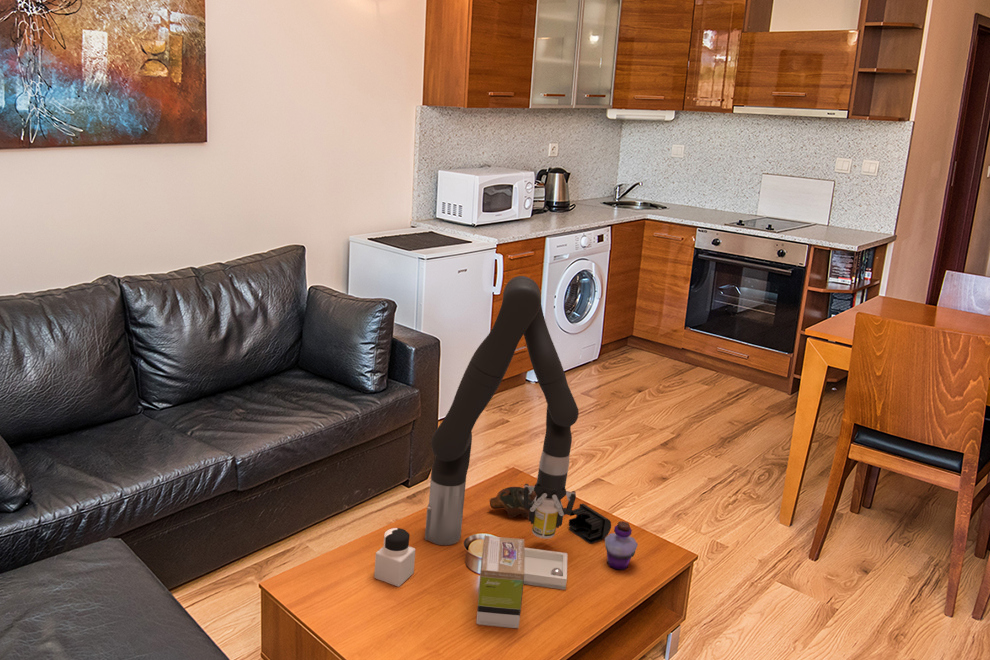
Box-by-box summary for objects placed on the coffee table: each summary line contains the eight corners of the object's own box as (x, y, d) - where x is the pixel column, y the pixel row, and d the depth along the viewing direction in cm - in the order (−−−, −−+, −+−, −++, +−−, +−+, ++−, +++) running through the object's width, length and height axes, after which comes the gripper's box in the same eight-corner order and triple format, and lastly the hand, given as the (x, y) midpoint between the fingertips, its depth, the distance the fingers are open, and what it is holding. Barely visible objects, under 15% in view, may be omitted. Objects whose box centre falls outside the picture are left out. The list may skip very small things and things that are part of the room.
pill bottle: (554, 529, 226) (561, 492, 223) (554, 541, 220) (560, 503, 217) (532, 525, 226) (537, 488, 223) (531, 537, 220) (536, 499, 217)
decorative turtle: (545, 520, 238) (547, 496, 235) (493, 525, 235) (494, 500, 232) (536, 502, 247) (538, 478, 244) (486, 506, 244) (487, 482, 241)
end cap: (609, 538, 232) (613, 516, 230) (591, 545, 228) (594, 523, 226) (584, 522, 239) (587, 501, 237) (566, 528, 235) (569, 507, 233)
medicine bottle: (414, 573, 207) (417, 530, 203) (398, 587, 200) (402, 543, 197) (389, 564, 209) (392, 521, 206) (373, 578, 203) (376, 534, 200)
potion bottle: (640, 569, 218) (647, 528, 215) (615, 576, 214) (621, 535, 210) (619, 552, 225) (626, 512, 222) (594, 559, 221) (600, 519, 217)
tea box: (478, 587, 204) (484, 533, 200) (519, 591, 204) (526, 537, 199) (475, 625, 189) (480, 568, 185) (519, 630, 189) (526, 573, 185)
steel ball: (549, 581, 207) (551, 571, 206) (550, 575, 210) (551, 564, 209) (561, 583, 207) (563, 572, 206) (562, 576, 210) (563, 566, 209)
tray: (508, 582, 207) (510, 571, 206) (512, 556, 218) (513, 546, 218) (565, 589, 206) (566, 579, 205) (565, 563, 218) (567, 553, 217)
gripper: (525, 469, 214) (517, 527, 219) (581, 478, 213) (571, 535, 218) (526, 457, 221) (518, 513, 226) (580, 465, 221) (571, 521, 225)
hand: (544, 524), depth 222 cm, fingers closed on pill bottle, 6 cm apart
